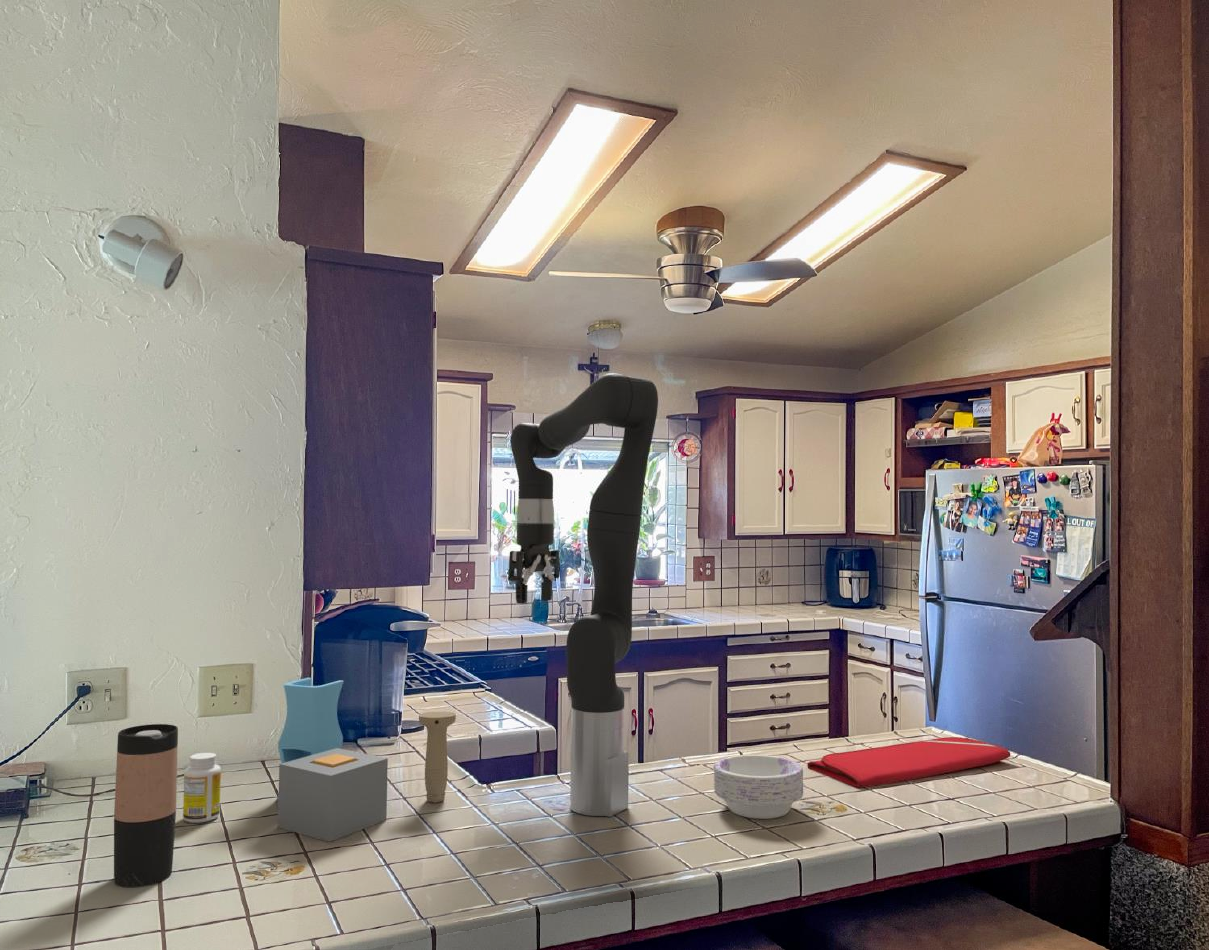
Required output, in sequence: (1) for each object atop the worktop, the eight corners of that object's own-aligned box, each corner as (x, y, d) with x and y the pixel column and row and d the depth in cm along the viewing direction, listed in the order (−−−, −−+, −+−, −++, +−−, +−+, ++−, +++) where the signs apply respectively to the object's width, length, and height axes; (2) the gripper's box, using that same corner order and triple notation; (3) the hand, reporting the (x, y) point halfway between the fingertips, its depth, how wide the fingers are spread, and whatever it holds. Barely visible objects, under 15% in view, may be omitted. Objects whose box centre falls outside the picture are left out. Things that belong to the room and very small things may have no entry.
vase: (341, 791, 162) (344, 680, 163) (314, 804, 154) (317, 687, 155) (305, 786, 164) (308, 677, 165) (276, 799, 157) (279, 684, 158)
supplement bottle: (213, 810, 150) (215, 749, 151) (224, 818, 146) (226, 755, 147) (178, 817, 147) (180, 754, 147) (188, 826, 143) (190, 761, 143)
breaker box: (386, 819, 147) (387, 758, 147) (329, 841, 136) (330, 775, 137) (335, 806, 153) (337, 747, 153) (277, 827, 143) (279, 763, 143)
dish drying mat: (805, 770, 180) (805, 751, 180) (953, 749, 198) (953, 732, 198) (859, 791, 166) (859, 771, 166) (1013, 767, 184) (1012, 748, 184)
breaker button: (355, 782, 146) (355, 757, 146) (332, 790, 142) (333, 764, 142) (335, 777, 148) (335, 753, 148) (311, 785, 144) (312, 760, 144)
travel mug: (126, 866, 126) (132, 723, 127) (182, 865, 127) (187, 723, 128) (101, 888, 118) (106, 737, 119) (160, 887, 119) (165, 736, 120)
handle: (453, 804, 155) (455, 717, 156) (416, 805, 154) (418, 717, 155) (454, 795, 160) (456, 711, 161) (418, 796, 159) (419, 711, 160)
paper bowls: (702, 799, 159) (702, 754, 159) (781, 795, 162) (781, 750, 162) (731, 829, 144) (731, 779, 144) (818, 823, 147) (818, 774, 148)
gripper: (529, 521, 172) (528, 605, 172) (570, 521, 185) (569, 600, 184) (498, 521, 176) (497, 603, 176) (540, 521, 189) (539, 598, 188)
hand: (534, 601), depth 180 cm, fingers open, 8 cm apart
